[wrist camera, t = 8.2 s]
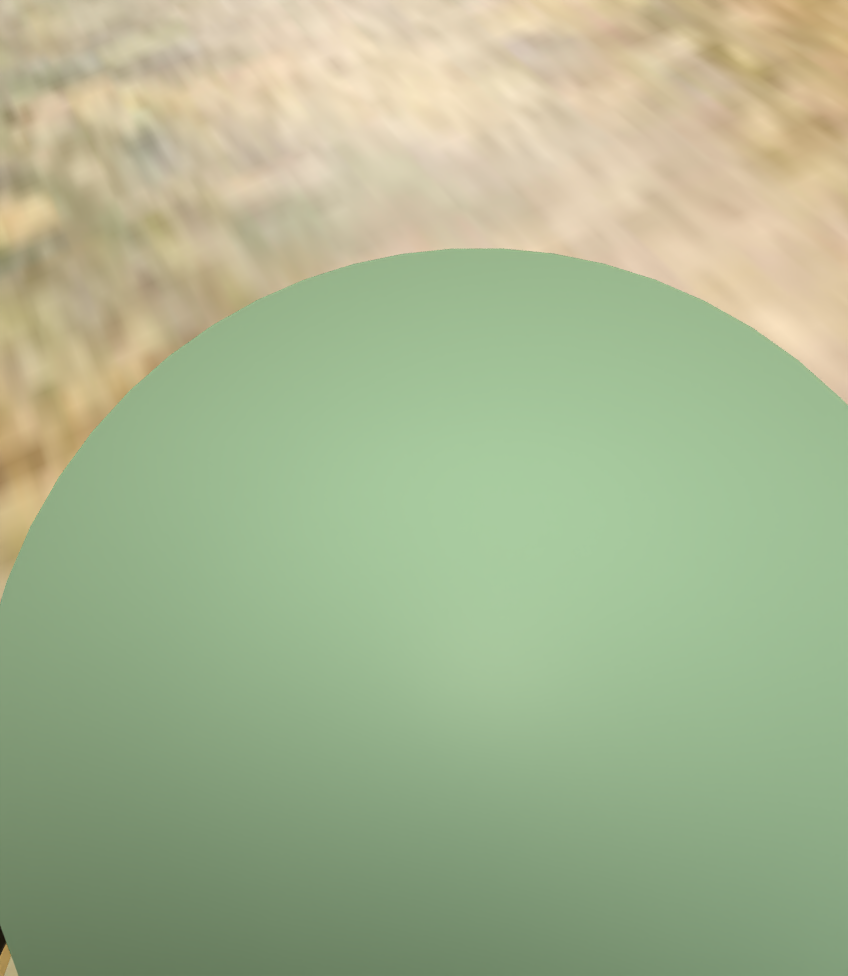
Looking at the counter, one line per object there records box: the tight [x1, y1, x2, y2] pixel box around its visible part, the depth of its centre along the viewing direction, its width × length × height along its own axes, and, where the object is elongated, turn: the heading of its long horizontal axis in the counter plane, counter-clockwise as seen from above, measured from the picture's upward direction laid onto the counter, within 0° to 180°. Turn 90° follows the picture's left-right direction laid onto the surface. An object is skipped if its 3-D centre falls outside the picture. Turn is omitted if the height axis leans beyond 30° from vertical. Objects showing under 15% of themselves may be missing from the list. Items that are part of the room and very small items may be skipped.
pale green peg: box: [0, 249, 848, 976], centre depth 9 cm, size 4×4×14 cm
